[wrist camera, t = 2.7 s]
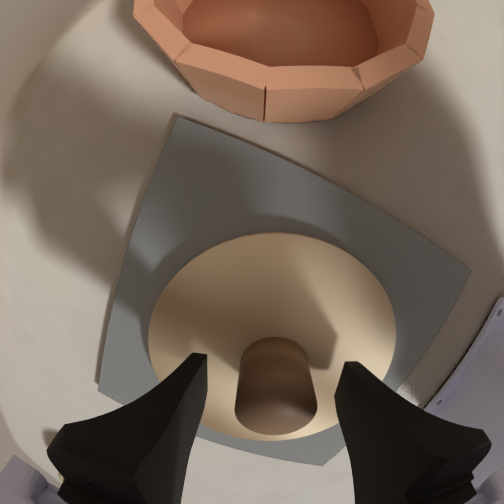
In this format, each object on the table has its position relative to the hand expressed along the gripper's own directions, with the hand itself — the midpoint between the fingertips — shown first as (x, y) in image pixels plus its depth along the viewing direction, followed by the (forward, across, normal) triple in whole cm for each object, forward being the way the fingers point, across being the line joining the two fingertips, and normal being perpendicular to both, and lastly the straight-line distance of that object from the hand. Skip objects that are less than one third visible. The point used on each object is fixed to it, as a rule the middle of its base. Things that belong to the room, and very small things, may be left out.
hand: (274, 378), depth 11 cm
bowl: (+2, +1, -15) cm, 15 cm away
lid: (+2, 0, 0) cm, 2 cm away
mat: (+2, 0, 0) cm, 2 cm away
